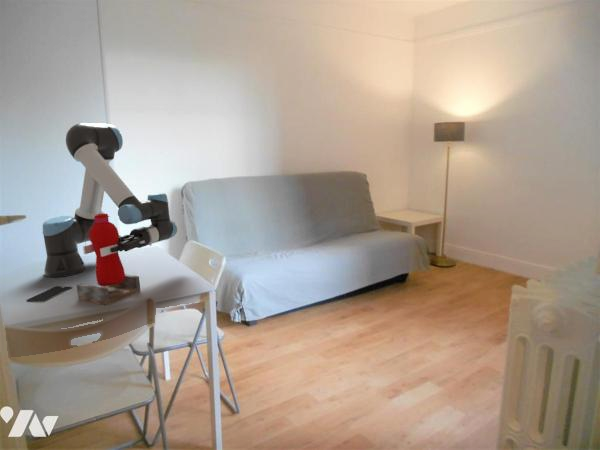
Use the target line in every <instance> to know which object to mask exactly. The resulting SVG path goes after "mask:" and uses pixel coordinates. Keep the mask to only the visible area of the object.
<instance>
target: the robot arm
mask: <svg viewBox="0 0 600 450" xmlns="http://www.w3.org/2000/svg"><path fill="white" fill-rule="evenodd" d="M123 141H124V139H123V135H122V134H121V133H120V130H119V129H118V128H117V127H116V126H115V125H113V124H108V123H104V122H103V123H87V122H79V123H77V124H73V126H71V127H70V128H69V129H68V130H67V132H66V134H65V145H66V148H67V151H68V152H69V154H70V155H71V158H73V159H74V161H76V162H80V164H81V165H82V166H83V167H84V168H85V170H84V171H85V172H84V175H83V176H84V177H83V178H84V179H83V182H82V183H83V184H82V188H81V189H82V191H81V195H80V197H81V198H80V204H79V207H78V208H76V209H75V211H74V217H73V216H71V215H62V216H56V217H52V218H49V219H48V220H45V221H44V222H43V224H42V235H43V238H44V241H43V242H44V245H45V251H46V261H45V264H44V270H43V271H44V276H45V277H49V278H61V277H68V276H72V275H75V274H79V273H81V272H83V271H84V270H85V269H86V265H85V262H84V259H82V256H81V255H80V253H79V250H78V245H79V244H83V243H87V242H90V237H89V235H90V233H89V231H90V230H89V229H90V227H91V226H92V225H93V221H95V218H94V216H96V215H98V214H104V211H103V210H102V208H103V202H104V195H105V194H106V195H107V196H108V197H109V198H110V199H111V201H112V202H113V203H114V204H115V206H116V207H117V208H118V210H117V216H118V220H119V221H120V222H121V223H122V224H124V225H134V224H138V223H141V222H144V221H148V220H150V224H148V225H144V226H142V227H137V228H134V229H132V230H131V231H130V233H129V234H125V235H122V236H121V235H119V241H118V245H117V244H116V245H112V246H108V247H104V248H101V249H100V252H101V256H102V257H103V256H106V255H109V254H112V253H116V252H118V253H119V252H128V251H129V252H130V251H131V250H134V249H141V248H144V247H146V246H152V245H154V244H156V243H160V242H163V241H166V240H167V241H168V240H169V239H172V238H173V237H175V236H176V235H177V232H178V226H177V225H176V222H175V221H173V220H171V219H170V209H169V200H168V195H167V194H166V193H164V192H155V193H154V192H153V193H149V194H148V195H147V199H145V200H142V201H140V200H139V199H138V198H137V197H136V195H134V193H133V192H132V191H131V189H130V188H129V187H128V186H127V184H126V183H125V182H124V181H123V180H122V178H120V176H119V175H118V174H117V172H116V171H115V170H114V169H113V167H111V165H110V162H111V161H113V160H114V159H115V153H117V152H119V151H120V150H121V149H122V148H123V144H124V143H123ZM87 232H88V233H87ZM86 235H87V237H86ZM91 247H92V251H91ZM82 250H83V255H88V254H91V253H95V251H94V248H93V245H92V243H90V244H88V245H87V244H86V245H83V246H82ZM86 250H87V251H86ZM90 252H91V253H90Z"/></svg>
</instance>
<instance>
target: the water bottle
mask: <svg viewBox="0 0 600 450" xmlns="http://www.w3.org/2000/svg"><path fill="white" fill-rule="evenodd" d="M103 213H104V212H103ZM109 217H110V215H109V214H108V213H104V214H98V215H96V216H94V218H95V221H93V225H92V226H91V227H90V229H89V230H90V231H89V233H90V235H89V237H90V241H89V242H90V244H92V245H93V248H94V251H95V252H94V253H95V258H96V259H95V260H96V261H95V277H96V283H97V284H98V286H99V287H102V286H108V285H113V284H118V283H121V282H123V281H124V280H125V274H126V273H125V268H124V265H123V262H122V261H121V258H120V255H119V251H118V252H116V253H112V254H109V255H106V256H103V257H102V256H101V252H100V249H101V248H104V247H108V246H112V245H116V244H117V245H118V241H119V236H120V233H119V231H118V228H117V226H116V225H115V224H114V223H112V222H110V220H109ZM87 233H88V232H87ZM86 237H87V235H86ZM86 251H87V250H86ZM91 251H92V247H91ZM89 254H91V252H90V253H89Z"/></svg>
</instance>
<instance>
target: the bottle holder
mask: <svg viewBox="0 0 600 450" xmlns="http://www.w3.org/2000/svg"><path fill="white" fill-rule="evenodd" d="M76 291H77V299H78V300H79V301H83V302H88V303H94V304H98V305H101V306H102V305H103V306H109V305H111V304H113V303H115V302H118V301H120V300H123V299H125V298H126V297H129V296H131V295H133V294H136V293H138V292H140V291H141V283H140V276H138V275H132V274H127V273H125V280H124V281H123V282H121V283H118V284H113V285H108V286H95V285H90V284H84V283H78V284H76Z"/></svg>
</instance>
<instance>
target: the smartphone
mask: <svg viewBox="0 0 600 450" xmlns="http://www.w3.org/2000/svg"><path fill="white" fill-rule="evenodd" d="M71 289H73V287H72V286H64V285H63V286H61V285H57V286H54V287H51V288H49V289H47V290H45V291H42V292H41V293H40V292H39V294H36V295H34V296H32V297H30V298H28V299H26V300H25V301H27V303H38V302H40V303H41V302H42V303H45V302H47V301H50V300H51V299H53V298H55V297H58V296H60V295H61V294H64V293H65V292H67V291H70V290H71Z"/></svg>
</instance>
